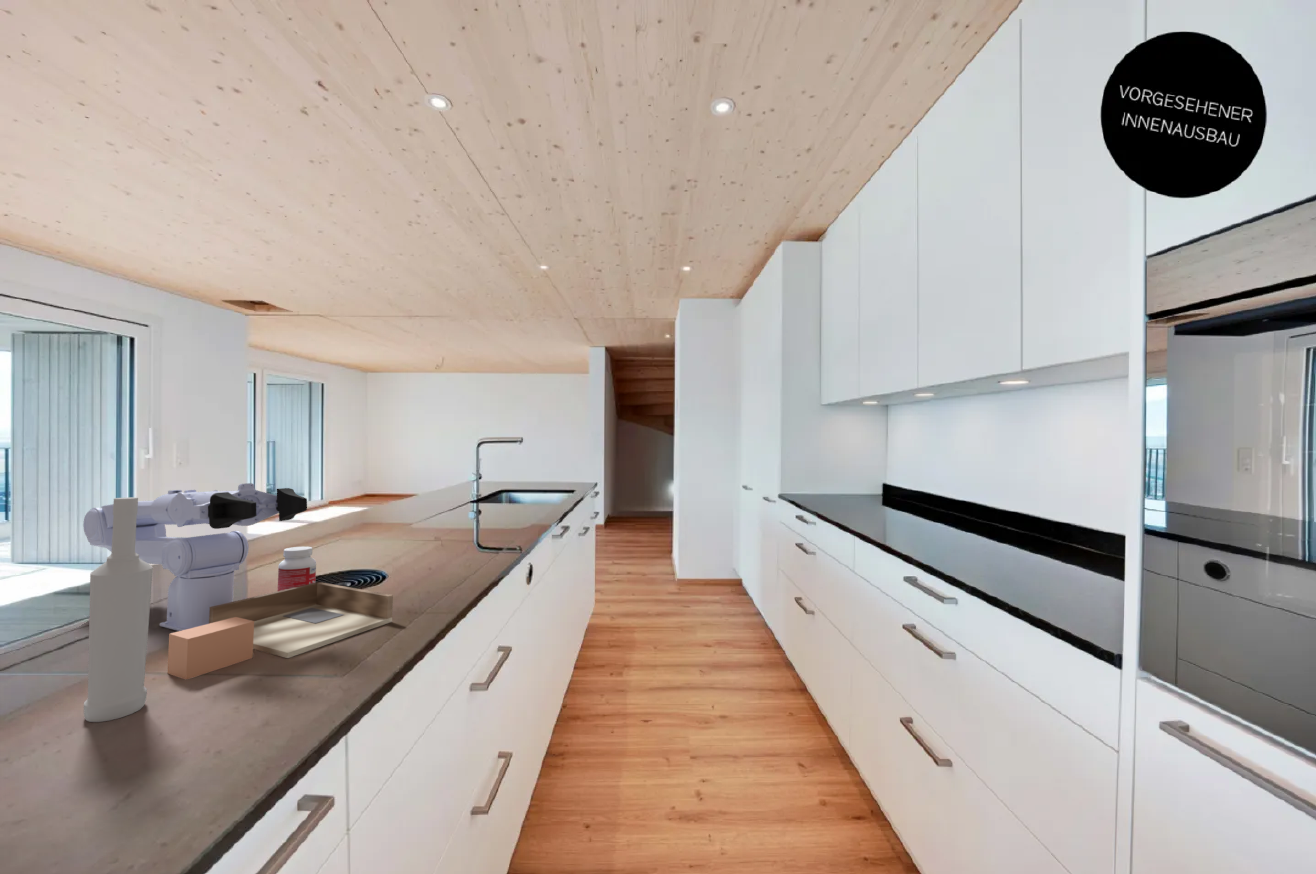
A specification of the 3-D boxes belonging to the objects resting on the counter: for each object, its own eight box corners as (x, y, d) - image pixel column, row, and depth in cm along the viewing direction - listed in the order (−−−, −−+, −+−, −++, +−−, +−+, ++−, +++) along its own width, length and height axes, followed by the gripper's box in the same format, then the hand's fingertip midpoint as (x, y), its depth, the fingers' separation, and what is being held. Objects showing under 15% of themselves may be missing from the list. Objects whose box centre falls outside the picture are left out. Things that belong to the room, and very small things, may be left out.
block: (186, 680, 69) (187, 639, 69) (167, 674, 70) (169, 633, 70) (252, 658, 76) (254, 621, 76) (234, 653, 78) (235, 616, 78)
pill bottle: (314, 606, 100) (316, 549, 101) (275, 611, 97) (278, 552, 97) (314, 598, 106) (316, 544, 106) (277, 602, 102) (280, 547, 102)
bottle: (88, 728, 57) (100, 501, 57) (77, 714, 59) (88, 498, 60) (152, 708, 61) (162, 498, 62) (139, 696, 64) (148, 495, 64)
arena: (208, 636, 84) (209, 607, 84) (317, 606, 100) (318, 581, 100) (287, 658, 76) (288, 625, 76) (391, 621, 93) (392, 595, 93)
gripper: (176, 487, 81) (227, 484, 76) (274, 481, 94) (324, 479, 89) (176, 532, 81) (228, 532, 75) (275, 520, 94) (325, 520, 89)
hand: (280, 506), depth 82 cm, fingers open, 7 cm apart
